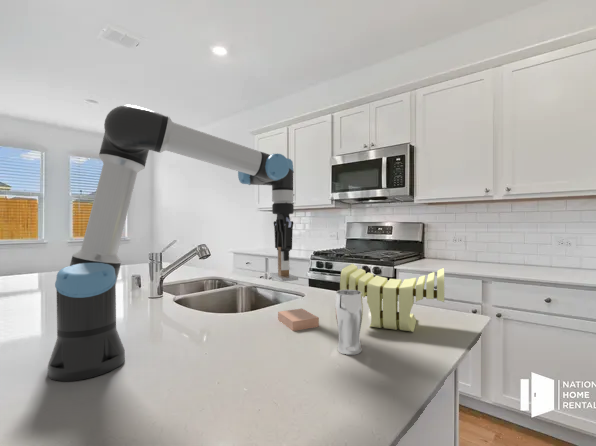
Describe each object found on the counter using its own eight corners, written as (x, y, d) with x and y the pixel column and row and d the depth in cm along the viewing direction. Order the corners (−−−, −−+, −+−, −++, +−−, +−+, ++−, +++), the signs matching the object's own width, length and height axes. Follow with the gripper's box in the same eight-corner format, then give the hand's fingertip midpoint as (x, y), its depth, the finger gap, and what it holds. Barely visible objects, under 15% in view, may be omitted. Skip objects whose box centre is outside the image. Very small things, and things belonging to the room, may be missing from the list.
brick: (302, 317, 115) (318, 327, 104) (278, 321, 111) (292, 332, 100) (302, 308, 115) (318, 317, 104) (277, 311, 111) (292, 321, 100)
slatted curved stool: (340, 326, 104) (340, 269, 104) (352, 313, 119) (352, 263, 119) (444, 339, 92) (444, 275, 92) (444, 322, 107) (443, 267, 107)
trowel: (298, 280, 113) (298, 247, 113) (281, 281, 110) (281, 248, 110) (285, 274, 124) (285, 245, 124) (270, 276, 121) (269, 246, 121)
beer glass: (368, 349, 85) (367, 291, 85) (353, 358, 80) (352, 296, 80) (345, 343, 90) (345, 288, 90) (330, 350, 85) (329, 292, 85)
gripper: (301, 201, 111) (302, 271, 111) (284, 204, 126) (284, 265, 126) (281, 201, 108) (281, 273, 108) (265, 203, 123) (266, 267, 123)
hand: (283, 269), depth 117 cm, fingers closed on trowel, 3 cm apart
